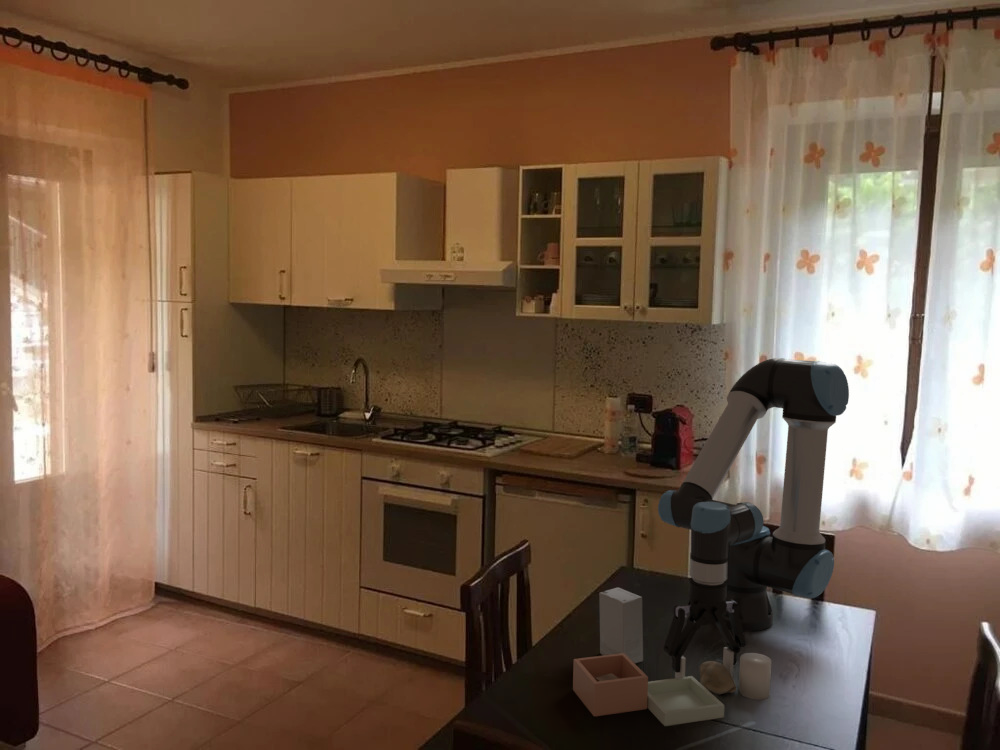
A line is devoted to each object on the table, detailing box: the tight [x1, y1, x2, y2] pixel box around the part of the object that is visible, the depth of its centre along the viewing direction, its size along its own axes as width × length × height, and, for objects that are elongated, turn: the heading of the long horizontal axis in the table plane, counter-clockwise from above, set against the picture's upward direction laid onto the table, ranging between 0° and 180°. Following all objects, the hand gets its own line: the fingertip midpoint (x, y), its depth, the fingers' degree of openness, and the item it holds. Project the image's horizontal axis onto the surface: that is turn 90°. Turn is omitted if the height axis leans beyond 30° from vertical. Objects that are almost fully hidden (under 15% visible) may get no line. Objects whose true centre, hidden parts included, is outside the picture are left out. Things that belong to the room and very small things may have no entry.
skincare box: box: [598, 587, 644, 664], centre depth 187 cm, size 8×6×15 cm
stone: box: [698, 660, 737, 695], centre depth 176 cm, size 7×6×8 cm
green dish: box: [647, 675, 725, 727], centre depth 167 cm, size 12×12×3 cm
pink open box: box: [572, 653, 649, 718], centre depth 169 cm, size 11×11×7 cm
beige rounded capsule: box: [738, 652, 772, 701], centre depth 173 cm, size 6×6×7 cm
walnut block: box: [595, 673, 620, 682], centre depth 169 cm, size 4×4×4 cm
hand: (703, 682), depth 177 cm, fingers open, 10 cm apart
